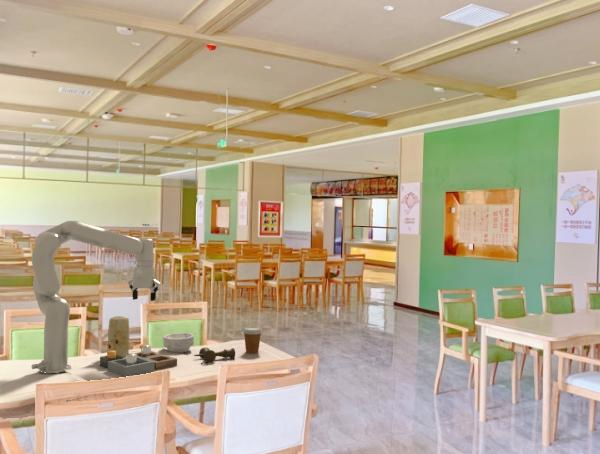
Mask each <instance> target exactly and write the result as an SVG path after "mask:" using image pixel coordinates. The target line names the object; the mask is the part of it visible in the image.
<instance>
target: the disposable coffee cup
mask: <svg viewBox="0 0 600 454" xmlns="http://www.w3.org/2000/svg"><path fill="white" fill-rule="evenodd" d="M262 332H263V330H262V328H261V327H258V326H257V327H256V326H249V327H247V326H246V327H244V329H243V335H244V345H245V353H247V354H258V353H259V350H260V343H261V336H262Z"/></svg>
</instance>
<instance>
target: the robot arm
mask: <svg viewBox="0 0 600 454" xmlns="http://www.w3.org/2000/svg"><path fill="white" fill-rule="evenodd" d="M71 240H72V241H76V242H80V243H83V244H87V245H92V246H95V247H98V248H103V249H109V250H110V249H112V250H116V251H121V252H122V253H123V254H126V255H133V256H134V255H136V261H134V264H135V265H136V266H135V267H134V269H133V274H132V279H130V280H128V281H127V284H128V286H129V287H128V288H130V289H131V291H132V295H131V296H132V300H134V301H135V300H138V298H139V297H138V296H139V295H138V294H139V292H138V289H149V290H150V301H151V302H153V301H156V299H157V297H156V296H157V292H158V291H159V290H160V288H161V285H162V283H161V282H159V281H158V280H157V279H156V271H155V270H156V269H155V266H154V244H155V243H154V240H153V239H152V238H136V237H132V236H129V235H126V234H123V233H118V232H117V231H116V232H115V231H112V230H110V229H107V228H102V227H99V226H97V225H96V226H95V225H92V224H89V223H85V222H81V221H79V220H67V221H64V222H61V223H60V224H58V225H55V226H53V227H51V228H49V229H47V230H45V231H42V232H41V233H39V234H38V235H37V236H36V238H35V247H34V248H33V251H32V253H31V264H32V269H33V273H34V276H35V277H34V279H33V281H32V289H33V292H34V296H35V298H36V299H35V300H36V303H37V305H38V308H39V311H40V312H41V313H42V314H43V315H44V316H45V319H44V327H43V359H41V362H38V363H35V364H31V369H32V370H35V369H37V370H40V371H42V372H46V373H56V374H60V373H59V372H63V373H66V372H65V371H68V370H71V369H72V366H71V364H68V359H69V358H68V355H69V354H68V353H69V352H68V351H69V350H68V348H69V322H70V320H69V319H70V316H71V315H70V314H71V306H70V305H69V303H68V301H67V300H66V299H65V298H62V297H61V296H60V293H59V292H60V290H61V288H62V285H61V280H60V277H59V275H58V271H57V267H56V264H55V255H56V253H57V251H58V250H59V249H60V248H61V247H62V245H63V244H65V243H67V242H68V241H71ZM40 371H39V372H40Z"/></svg>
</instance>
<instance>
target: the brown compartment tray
mask: <svg viewBox="0 0 600 454" xmlns="http://www.w3.org/2000/svg"><path fill="white" fill-rule="evenodd" d="M134 353H135V354H137V356H138V357H142V356H141V351H139V352H138V351H137V352H134ZM142 358H145V359H148V360H151V361H154V362H155V365H154V371H158V370H162V369H166V368H167V369H168V368H171V367H176V366H178V358H176V357H173V356H169V355H166V354H164V353H163V354H162V353H160V352H156V351H153V350H151V356H146V357H142Z"/></svg>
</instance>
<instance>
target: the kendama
mask: <svg viewBox="0 0 600 454" xmlns="http://www.w3.org/2000/svg"><path fill="white" fill-rule="evenodd" d="M198 352H199V353H198V354H194V357H200V358H201V359H203V361H205V362H206V363H207V364H208V363H210V364H211V363H213V362H215V360H216V358H217V357H222V358H224V359H227V358H231V359H235V357H236V349H235V348H233V347H232V348H231V349H227V348H224V349H223V350H220V351H217V352H215V351H214V350H211V349H210V348H209V347H204V346H203V347H202V348H200V349H199V351H198Z"/></svg>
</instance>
